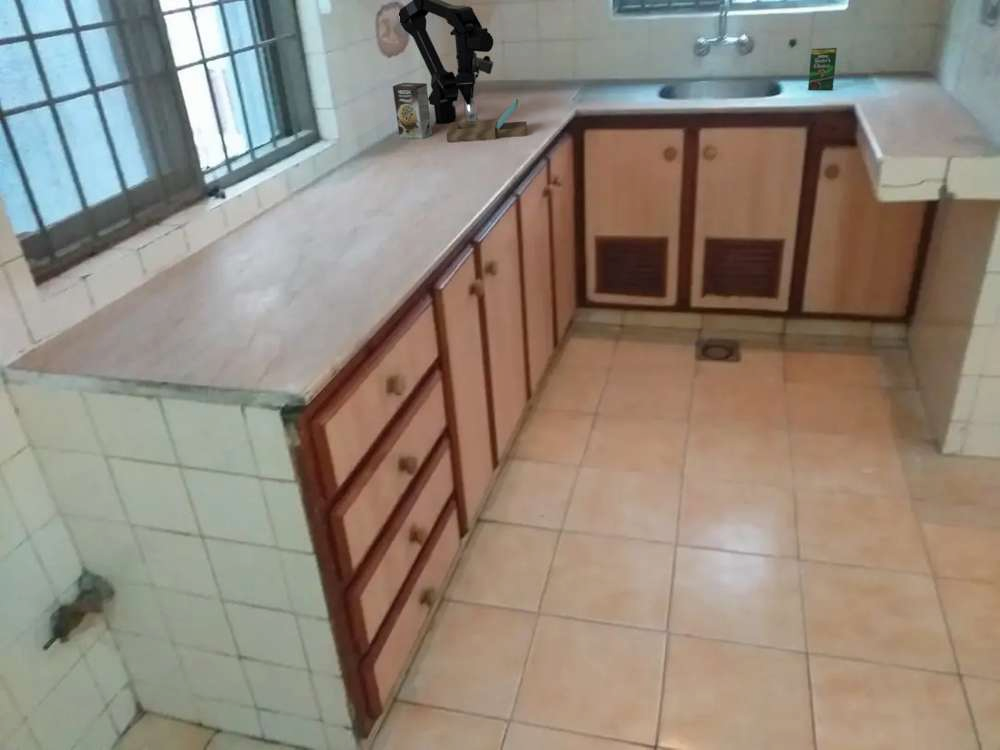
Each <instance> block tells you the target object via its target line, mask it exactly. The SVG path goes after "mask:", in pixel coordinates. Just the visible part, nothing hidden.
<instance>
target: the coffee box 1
mask: <svg viewBox="0 0 1000 750" xmlns="http://www.w3.org/2000/svg"><path fill="white" fill-rule="evenodd" d="M392 92H393V98H394V99H393V100H394V108H395V115H396V120H397V129H398V137H399V139H412V138H415V139H416V138H418V139H416V140H424V139H426V138H427V136H428V137H430V136H432V135H433V132H432V124H431V123H432V122H431V113H430V103H429V100H428V98H429V95H428V94H429V93H428V84H427V83H424V82H423V83H422V82H420V83H419V82H401V83H398V84H395V85H393V86H392ZM429 135H430V136H429ZM425 137H426V138H425ZM423 138H424V139H423ZM415 139H414V140H415Z"/></svg>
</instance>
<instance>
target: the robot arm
mask: <svg viewBox="0 0 1000 750" xmlns="http://www.w3.org/2000/svg"><path fill="white" fill-rule="evenodd" d="M399 11H400V12H399ZM399 11H398V14H399V16H400V22H399V24H400V23H401V24H400V25H401V27H402V28H403V30H404V31H405V32H406V33H407V34H409V35H410V36H411V37H412V39H413V40H414V42H415V45H416V47H417V49H418V51H419V54H420V55H421V58H422V59H423V61H424V63H425V65H426V68H427V69H428V72H429V75H430V76H431V77H430V78H431V81H430V87H431V89H432V90H431V92H430V95H428V103H429V106H433V108H434V115H435V122H434V124H435V125H436V124H448V123H449V124H451V122H456V119H457V111H456V110H457V107H456V105H454V102H457V101H458V97H459V92H460V94H461V96H462V97H463V100H464V101H466V103H467V104H470V102H471V99H473V98H474V90H475V89H474V88H475V85H476V83H477V82H476V81H477V79H478V77H479V75H480V72H483V73H485V74H488V75H491V73H492V70H493V66H494V62H493V61H492V60H491V56H488V55H485V54H484V55H485V56H484V57H483V58H482V57H478V56H477V52H481V53H488V52H490V51H491V50H492V49H493V46H494V38H493V36H492V34H491V33H490V32H489V30H488V28H487V27H483V26H482V24H481V22H480V20H479V19H478V17H477V15H476V13H475V12H474V9H473V7H472V6H469V5H454V4H451V3H449V2H446V1H444V0H412V1H410V2H409V3H407V4H406V5H404V6H403V7H402V8H400V9H399ZM429 13H430V14H433V15H435V16H438V17H439V18H442V19H444V20H446V23H447V24H448V25H450V26H451V27H452V28H453V29H452V30H451V31H450V33H449V34H450V36H454V40H455V41H454V42H455V49H456V50H455V51H456V55H455V58H456V61H457V69H456V70H457V74H455V73H454V72H453V71H452V70H451V71H447V70H446V69H445V67H444V65H443V63H442V61H441V58H440V56H439V55H438V53H437V50H436V48H435V45H434V44H433V42H432V39H431V37H430V35H429V33H428V31H427V15H428V14H429Z"/></svg>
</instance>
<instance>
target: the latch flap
mask: <svg viewBox="0 0 1000 750" xmlns="http://www.w3.org/2000/svg"><path fill="white" fill-rule="evenodd" d="M518 104H519V99H518V98H516V99H515V100H514V101H513V102H512V103H511V105H510V106H509V107H508V108H507V109H506V111H505V112H504V113H503V114H502V116H501V117H500V118H499V119H498V123H497V127H496V128H497V129H499V128H500V127H501V126H502V125H503V123H506V121H507V120H508V119H509V118H510V117H511V115H512V114H513V112H515V111H516V109H517V108H518Z"/></svg>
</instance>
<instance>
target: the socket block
mask: <svg viewBox="0 0 1000 750" xmlns="http://www.w3.org/2000/svg"><path fill="white" fill-rule="evenodd" d="M498 120H499V119H497V118H496V119H482V120H479V119H478V121H466V120H464V121H454V122H451V123H449V127H448V128H447V130H446V143H447V142H449V143H460V142H459V141H464V142H474V141H473V140H479V141H487V140H486V139H494V140H496V139H497V137H501V138H511V136H516V137H526V136H527V130H528V127H527V126H528V125H527V124H528V123H527V121H510V122H509V121H508V122H504V123H503V125H502V126H501V127H500V128H499V129H497V128H496V127H497V123H498ZM496 135H497V136H496Z"/></svg>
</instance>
